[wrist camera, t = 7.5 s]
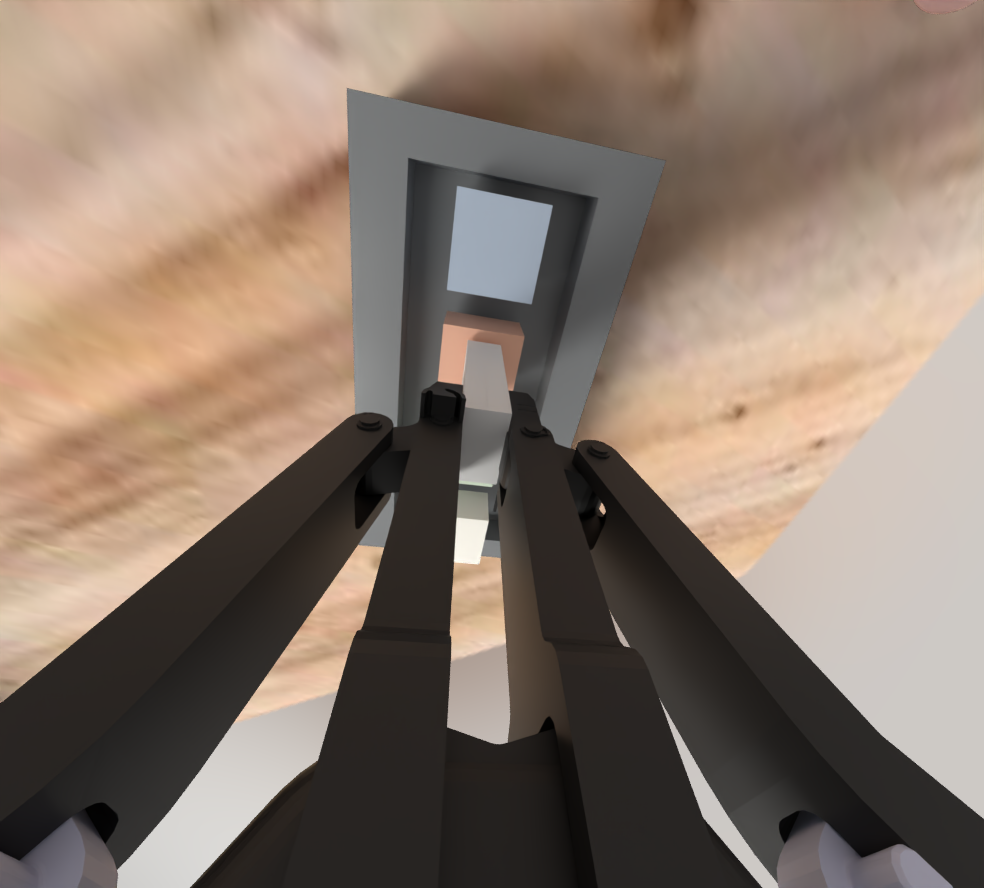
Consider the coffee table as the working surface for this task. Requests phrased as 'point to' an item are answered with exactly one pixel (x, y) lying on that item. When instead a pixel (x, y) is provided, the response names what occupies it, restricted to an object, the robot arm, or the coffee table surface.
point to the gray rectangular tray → (427, 246)
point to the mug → (942, 5)
